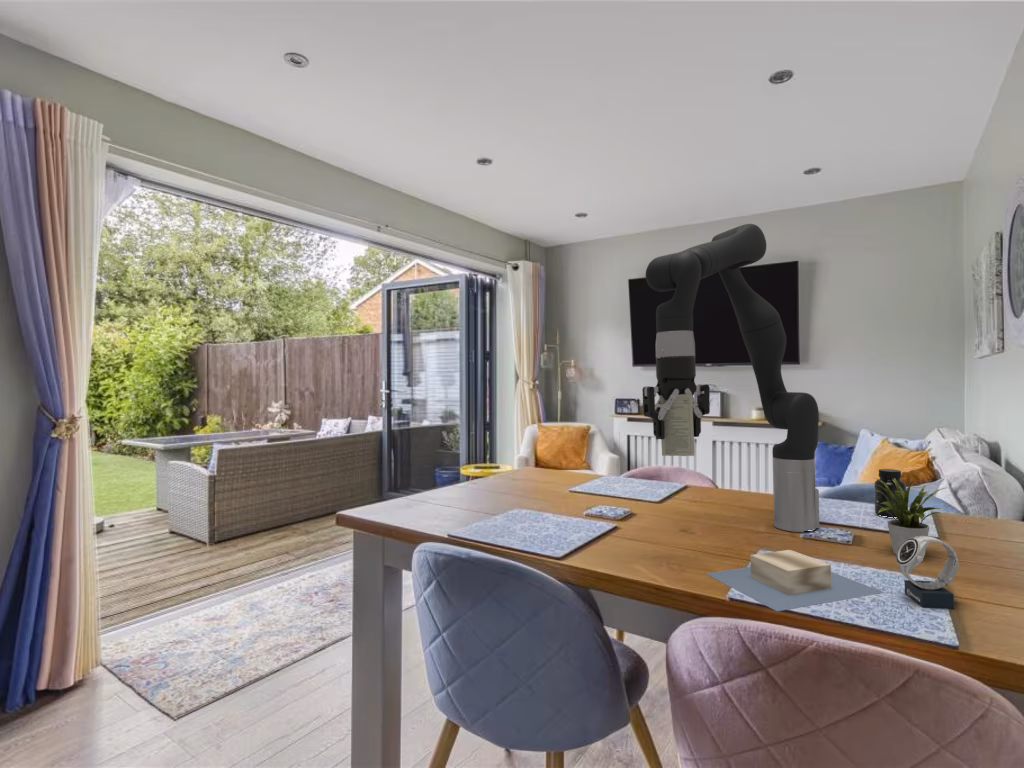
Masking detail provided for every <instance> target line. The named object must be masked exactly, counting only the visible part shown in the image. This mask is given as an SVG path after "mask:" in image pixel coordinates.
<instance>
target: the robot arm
mask: <svg viewBox="0 0 1024 768" xmlns="http://www.w3.org/2000/svg"><path fill="white" fill-rule="evenodd" d="M766 252H767V240H766V236H765V234H764V232H763V230H762V229H761V227H760V226H758V225H756V224H754V223H746V224H742V225H738V226H736V227H733V228H731V229H728V230H726V231H724V232H720V233H718V234H716V235H714V236H713V237H712V239H711V241H709V242H708V241H707V242H704V243H701V244H697V245H694V246H691V247H689V248H686V249H684V250H682V251H679V252H674V253H673V252H672V253H670V254H665V255H660V256H657V257H655V258H653V259H652V260H651V261H650V262H649V263H648V265H647V267H646V269H645V280H646V283H647V284H648V286H649V287H650V288H651V289H652V290H654V291H656V292H659V293H661V292H670V291H675V292H674V293H673V296H672V298H671V299H669V300H667V301H665V302H663V303H660V304H659V305H657V308H655V309H656V310H655V319H656V320H655V321H656V322H655V323H656V325H655V327H656V334H655V335H656V338H655V372H656V374H655V375H656V376H655V377H656V380H657V383H656V386H649V385H647V386H643V387H642V409H643V411H642V412H643V413H642V414H643V416H644V417H646V418H650V419H652V426H653V428H652V429H653V431H652V432H653V435H654V437H655V439H657V440H661V439H664V438H665V428H664V420H662V419H663V418H664V416H665V414H666V412H667V411H668V410H669V409H670V407H671V405H672V404H673V402H674V400H675V398H676V397H677V395H678V394H692V406H693V428H694V438H698V437H700V434H701V432H702V417H703V416H705V415H709V414H710V411H711V409H710V407H711V406H710V403H711V402H710V398H711V397H710V395H711V394H710V385H709V384H696V382H695V378H696V375H697V372H696V369H697V368H696V342H695V340H696V339H695V335H694V306H695V302H696V297H697V293H698V290H699V287H700V282H701V280H703V279H705V278H708V277H711V276H712V275H714V274H717V273H719V276H720V278H721V281H722V282H723V285H724V287H725V291H726V292H727V293H728V297H729V299H730V303H731V304H732V308H733V311H734V314H735V316H736V321H737V323H738V326H739V327H738V328H739V330H740V334H741V337H742V340H743V343H744V345H745V347H746V350H747V353H748V356H749V359H750V362H751V365H752V371H753V373H754V376H755V379H756V384H757V388H758V393H759V397H760V402H761V407H762V412H763V414H764V417H765V419H766V421H767V422H768V423H769V425H770V426H771V427H774V428H775V429H780V430H787V431H786V432H787V434H786V439H784V440H783V441H782V442H780V443H777V444H774V445H773V446H772V452H771V453H772V483H773V484H772V485H773V487H772V489H773V490H772V494H773V495H772V496H773V497H772V498H773V527H775V528H777V529H779V530H783V531H786V532H787V531H788V532H795V533H805V532H804V531H808V530H813V529H816V528H818V529H820V499H819V498H820V492H819V489H818V488H816V464H815V463H816V462H815V461H816V460H815V457H816V456H815V455H816V450H817V447H818V443H819V442H818V441H819V421H820V419H819V415H820V413H819V406H818V402H817V401H816V399H815V397H814V396H813V395H812V394H810V393H807V392H798V391H797V392H795V391H794V392H793V391H791V392H788V391H787V388H786V386H785V383H784V380H783V376H782V365H783V364H782V363H783V359H784V357H785V352H786V347H787V334H786V331H785V328H784V326H783V321H782V319H781V315H780V314H779V312H778V311H777V309H776V308H775V306H773V305H772V304H771V303H770V302H768V301H767V300H766V299H765V298H763V297H762V296H761V295H760V294H759V293H757V292H755V290H754V289H752V287H751V286H750V285H749V284H748V283H747V281H746V279H745V278H744V276H743V273H742V272H741V269H740V268H742V267H745V266H748V265H749V266H750V265H752V264H754V263H757V262H758V261H761V259H763V257H764V256H765V254H766ZM695 394H696V398H695V397H694V395H695ZM657 395H658V396H659V395H662V397H663V398H664V399H665V400H666V402H665V403H664V404H661V405H660V399H659V398H658V400H657V401H656V397H657ZM660 408H661V409H660ZM816 530H817V529H816Z"/></svg>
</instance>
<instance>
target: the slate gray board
mask: <svg viewBox="0 0 1024 768" xmlns="http://www.w3.org/2000/svg"><path fill="white" fill-rule="evenodd" d="M705 575H707V576H709V577H711V578H713V579H715V580H717V582H721V583H723V584H724V585H727V587H730V588H732V589H734V590H736V591H737V592H740V593H741V594H743V595H745V596H747V597H749V598H750V599H753V600H755V601H756V602H758V603H760V604H762V605H764V606H765V607H768V608H770V609H772V610H774V612H782V611H788V610H793V609H799V608H804V607H805V608H806V607H811V606H816V605H823V604H828V603H832V602H839V601H844V600H845V601H846V600H850V599H856V598H861V597H868V596H874V595H879V594H884V593H885V592H884V591H882V590H879V589H877V588H874V587H872V586H869V585H867V584H864V583H861V582H859V581H856V580H853V579H850V578H848V577H846V576H844V575H841V574H839V573H836V572H833V571H831V588H828V589H822V590H816V591H810V592H804V593H798V594H792V595H788V594H786V593H783V592H781V591H779V590H777V589H775V588H773V587H771V586H769V585H767V584H765V583H762V582H760V581H758V580H756V579H754V578H752V577H751V566H746V567H740V568H731V569H723V570H718V571H710V572H705Z"/></svg>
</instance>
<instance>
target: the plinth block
mask: <svg viewBox="0 0 1024 768" xmlns="http://www.w3.org/2000/svg"><path fill="white" fill-rule="evenodd" d="M749 559H750V567H751V577H752V578H754V579H756V580H758V581H760V582H762V583H765V584H767V585H769V586H771V587H773V588H775V589H777V590H779V591H781V592H783V593H786V594H788V595H792V594H798V593H804V592H810V591H816V590H822V589H828V588H831V572H832V569H831V568H832V565H831V564H830V563H827V562H824V561H821V560H819V559H816V558H814V557H812V556H811V557H810V556H808V555H805V554H803V553H800V552H797V551H796V550H795V551H794V550H793V549H785V550H778V551H770V552H764V553H757V554H755V553H754V554H750V558H749Z"/></svg>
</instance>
